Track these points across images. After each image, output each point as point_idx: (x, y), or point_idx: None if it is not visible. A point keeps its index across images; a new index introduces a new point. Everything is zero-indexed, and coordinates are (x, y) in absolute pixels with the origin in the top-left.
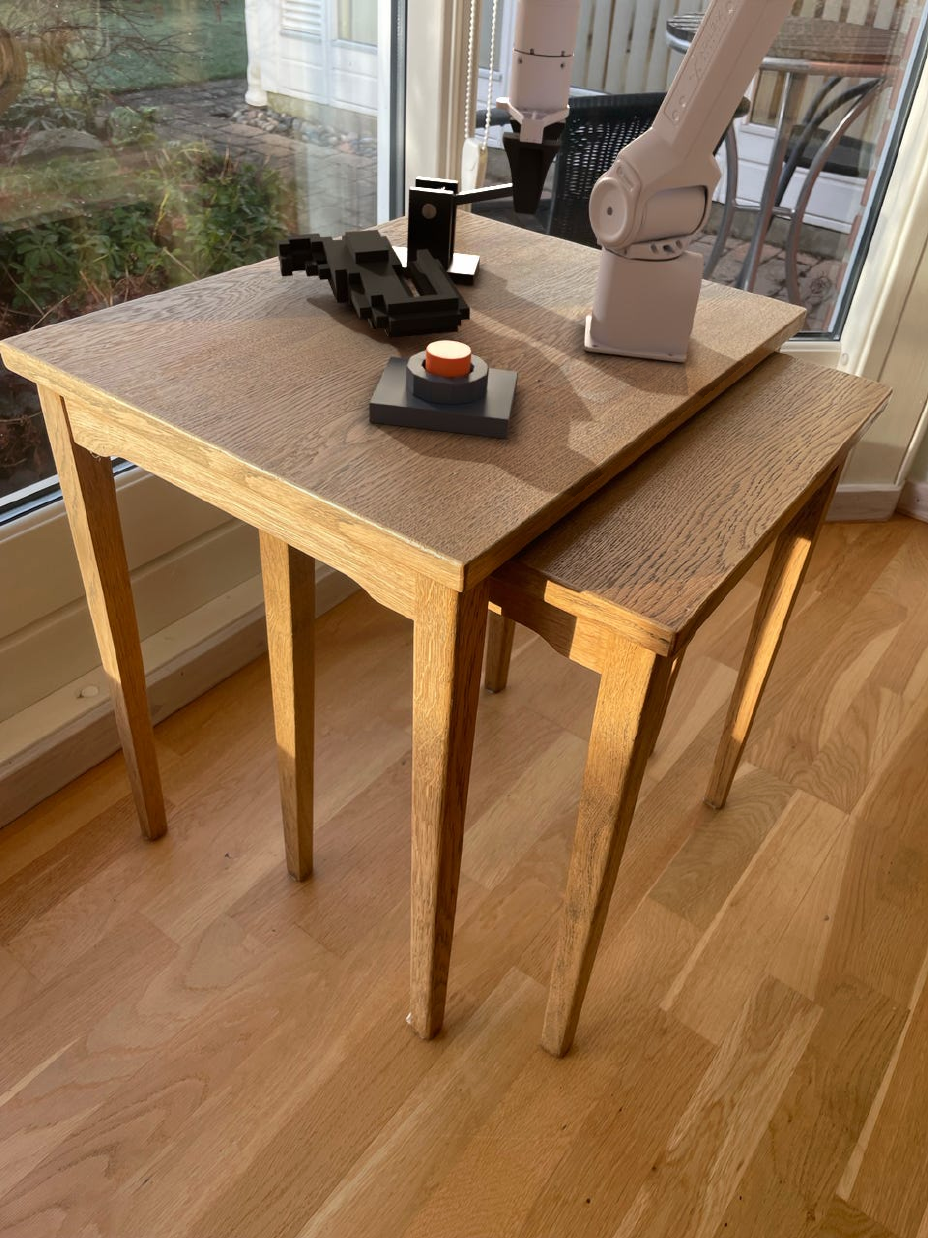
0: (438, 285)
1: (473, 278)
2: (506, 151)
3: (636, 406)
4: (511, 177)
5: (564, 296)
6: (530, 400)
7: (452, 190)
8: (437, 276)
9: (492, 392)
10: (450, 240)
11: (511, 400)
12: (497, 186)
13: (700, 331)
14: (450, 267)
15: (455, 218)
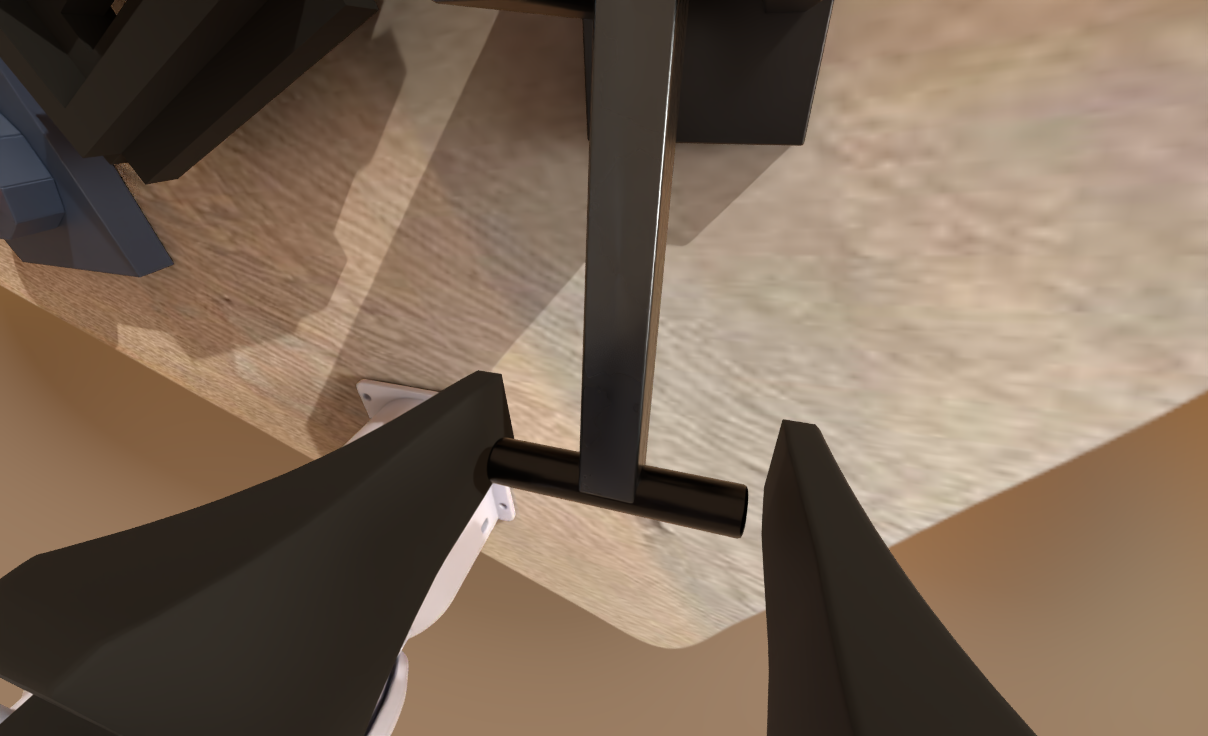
0: (89, 78)
1: None
2: (92, 541)
3: (262, 411)
4: (339, 448)
5: None
6: (168, 284)
7: None
8: (122, 61)
9: (52, 236)
10: None
11: (62, 266)
12: (630, 334)
13: (533, 536)
14: None
15: (771, 3)
